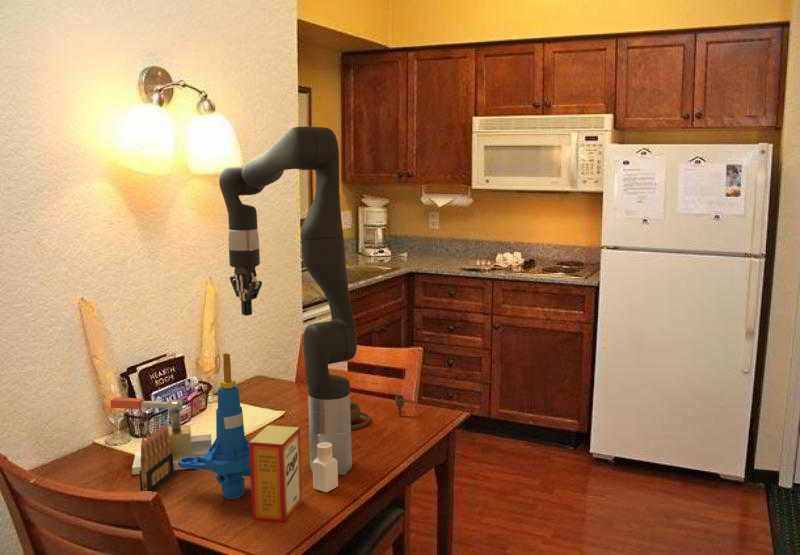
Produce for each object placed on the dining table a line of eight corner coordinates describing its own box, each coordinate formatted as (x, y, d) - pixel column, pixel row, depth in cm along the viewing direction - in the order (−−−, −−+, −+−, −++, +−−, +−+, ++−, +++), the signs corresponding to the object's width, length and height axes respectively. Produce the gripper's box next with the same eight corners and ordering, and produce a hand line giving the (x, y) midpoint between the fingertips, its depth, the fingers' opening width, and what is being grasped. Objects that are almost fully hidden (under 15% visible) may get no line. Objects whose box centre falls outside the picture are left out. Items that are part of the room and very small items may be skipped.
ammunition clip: (166, 473, 163) (163, 421, 161) (174, 473, 162) (171, 421, 160) (140, 494, 152) (136, 439, 150) (148, 495, 152) (144, 440, 150)
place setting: (335, 411, 203) (334, 390, 202) (406, 416, 199) (406, 395, 198) (315, 434, 186) (314, 412, 185) (392, 440, 182) (392, 417, 181)
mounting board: (220, 450, 175) (220, 443, 175) (221, 465, 167) (221, 458, 166) (136, 458, 171) (136, 452, 170) (132, 474, 162) (132, 467, 162)
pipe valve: (211, 447, 173) (209, 403, 171) (211, 456, 167) (209, 411, 166) (144, 454, 169) (141, 408, 167) (142, 463, 164) (139, 417, 162)
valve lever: (116, 404, 170) (116, 396, 170) (185, 407, 168) (184, 399, 168) (109, 408, 167) (108, 401, 167) (178, 411, 165) (178, 404, 164)
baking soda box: (271, 497, 150) (268, 423, 148) (301, 500, 149) (299, 425, 146) (252, 520, 141) (249, 440, 139) (284, 523, 140) (281, 443, 137)
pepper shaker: (312, 488, 154) (310, 445, 153) (325, 482, 157) (324, 439, 156) (326, 494, 152) (324, 450, 150) (339, 487, 155) (338, 444, 154)
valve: (194, 478, 160) (186, 343, 155) (267, 485, 156) (261, 347, 151) (167, 500, 150) (158, 357, 145) (245, 509, 146) (238, 362, 141)
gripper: (218, 246, 188) (221, 312, 191) (243, 250, 178) (246, 321, 181) (244, 243, 193) (247, 308, 195) (270, 248, 183) (273, 316, 185)
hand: (247, 314), depth 188 cm, fingers closed
